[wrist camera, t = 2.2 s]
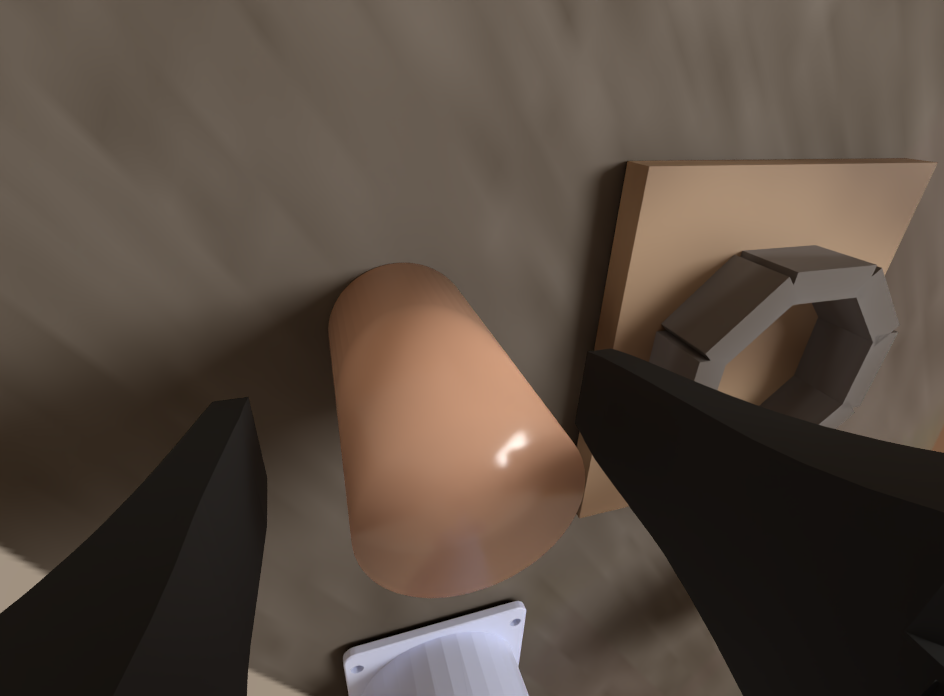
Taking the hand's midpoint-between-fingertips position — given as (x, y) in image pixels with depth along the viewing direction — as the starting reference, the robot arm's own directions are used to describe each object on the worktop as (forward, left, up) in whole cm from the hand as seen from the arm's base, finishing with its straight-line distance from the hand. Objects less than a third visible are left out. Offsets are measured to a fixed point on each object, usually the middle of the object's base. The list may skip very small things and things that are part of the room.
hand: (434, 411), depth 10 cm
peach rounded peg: (0, 0, -4) cm, 4 cm away
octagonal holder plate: (-2, -12, -4) cm, 13 cm away
